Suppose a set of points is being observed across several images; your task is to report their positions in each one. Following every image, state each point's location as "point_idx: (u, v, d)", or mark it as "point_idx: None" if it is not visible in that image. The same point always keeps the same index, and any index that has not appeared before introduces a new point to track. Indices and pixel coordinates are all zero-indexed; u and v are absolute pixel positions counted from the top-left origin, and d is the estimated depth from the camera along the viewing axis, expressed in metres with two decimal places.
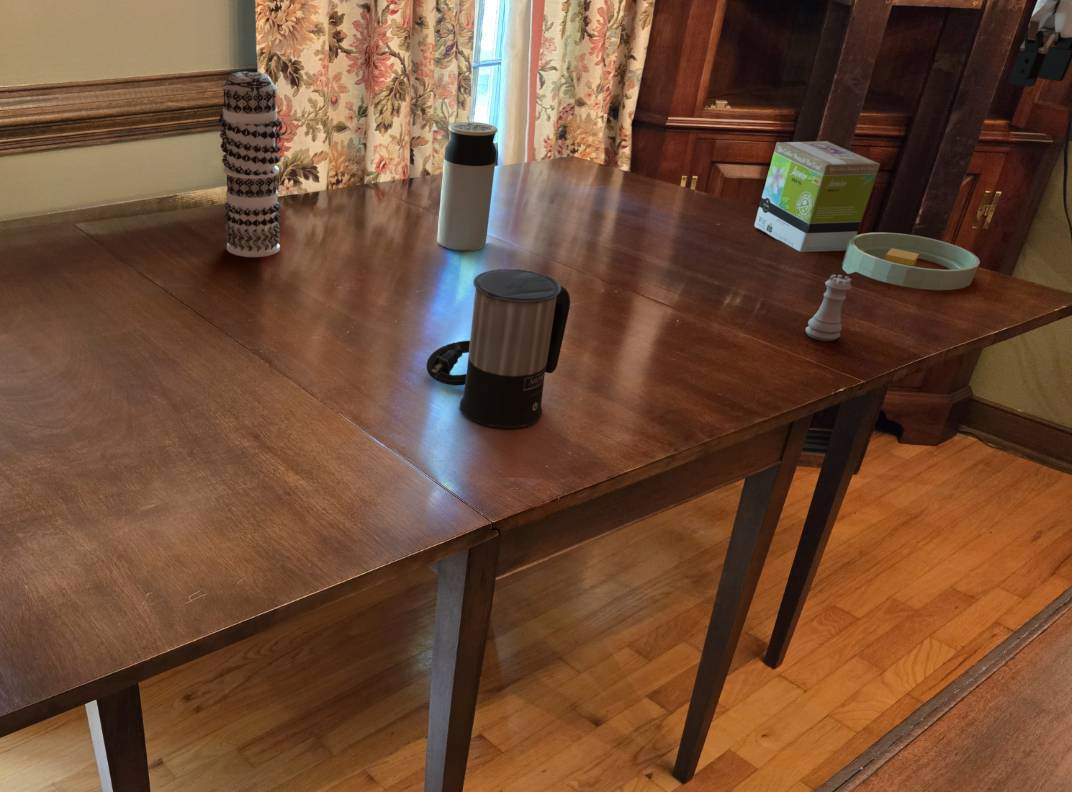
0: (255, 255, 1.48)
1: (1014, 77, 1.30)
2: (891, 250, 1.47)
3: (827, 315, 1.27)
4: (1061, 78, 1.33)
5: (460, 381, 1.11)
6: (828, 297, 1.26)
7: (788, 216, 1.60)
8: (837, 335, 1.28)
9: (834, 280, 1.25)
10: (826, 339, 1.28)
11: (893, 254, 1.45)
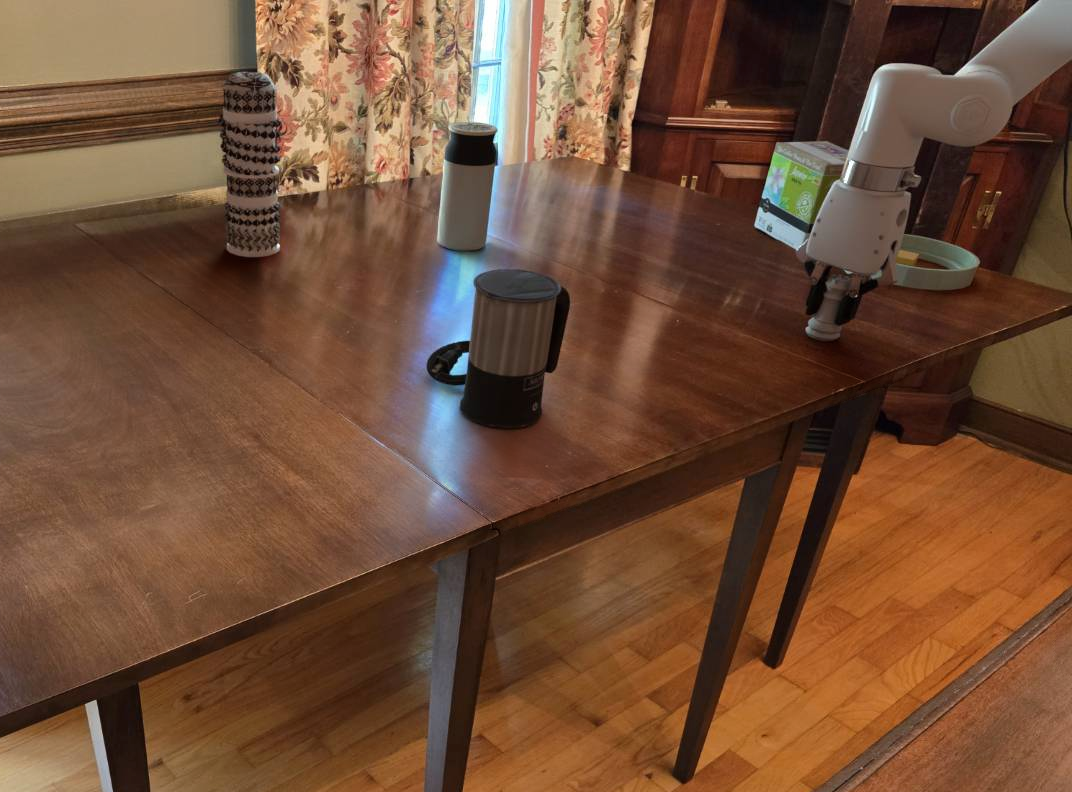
0: (255, 255, 1.48)
1: (842, 319, 1.26)
2: None
3: (827, 315, 1.27)
4: None
5: (460, 381, 1.11)
6: (828, 297, 1.26)
7: (788, 216, 1.60)
8: (837, 335, 1.28)
9: (834, 280, 1.25)
10: (826, 339, 1.28)
11: None
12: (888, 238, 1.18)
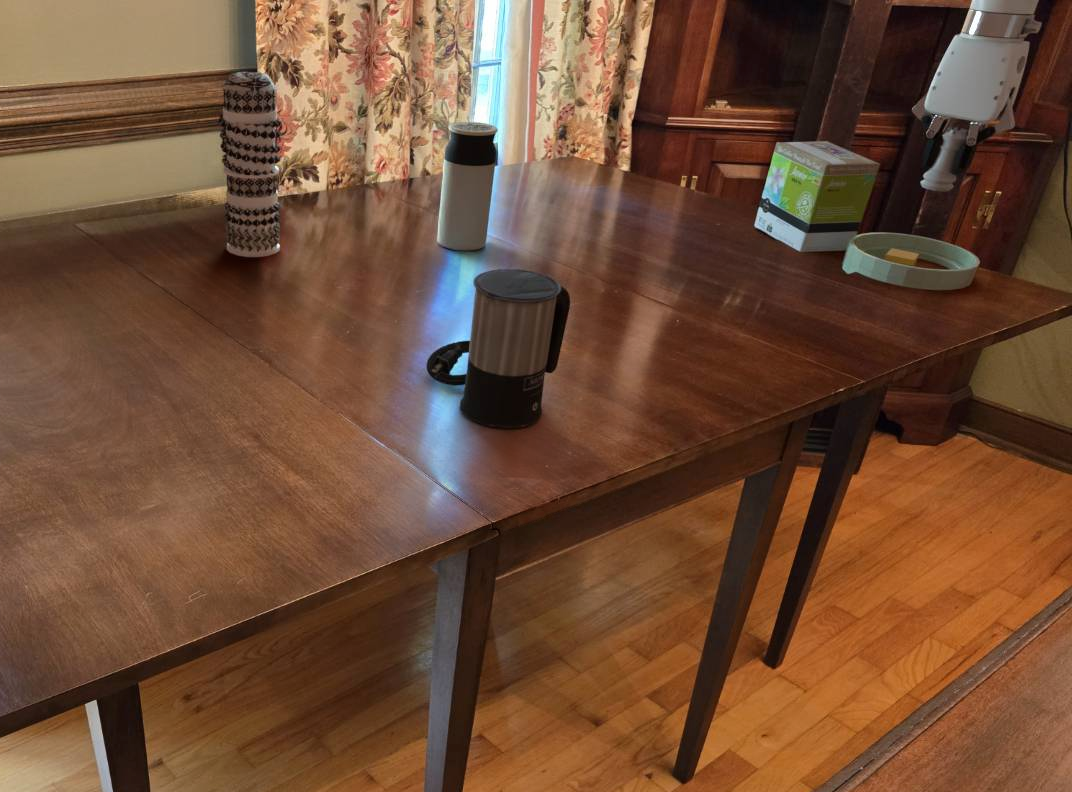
0: (255, 255, 1.48)
1: (958, 168, 1.36)
2: (891, 250, 1.47)
3: (944, 166, 1.37)
4: None
5: (460, 381, 1.11)
6: (945, 148, 1.36)
7: (788, 216, 1.60)
8: (952, 186, 1.38)
9: (952, 131, 1.35)
10: (942, 189, 1.38)
11: (893, 254, 1.45)
12: (1008, 83, 1.28)
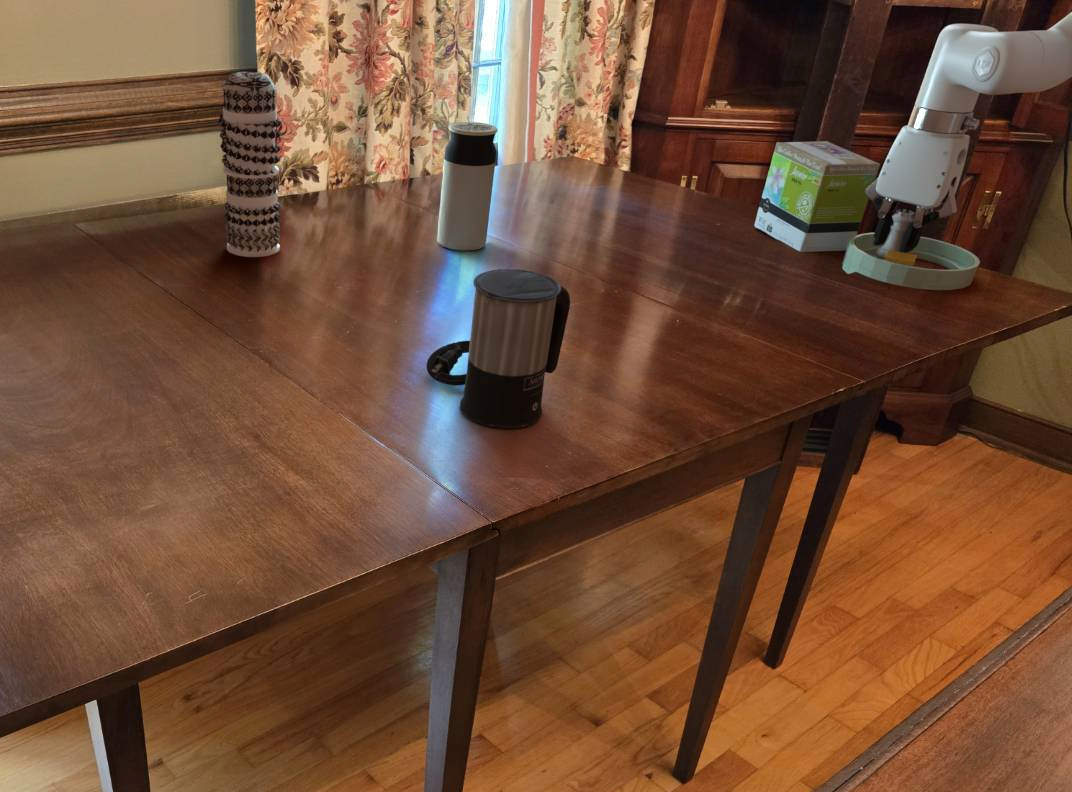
0: (255, 255, 1.48)
1: (906, 247, 1.46)
2: (889, 252, 1.46)
3: (893, 244, 1.47)
4: None
5: (460, 381, 1.11)
6: (894, 228, 1.47)
7: (788, 216, 1.60)
8: None
9: (900, 213, 1.45)
10: None
11: (893, 256, 1.45)
12: (950, 174, 1.38)
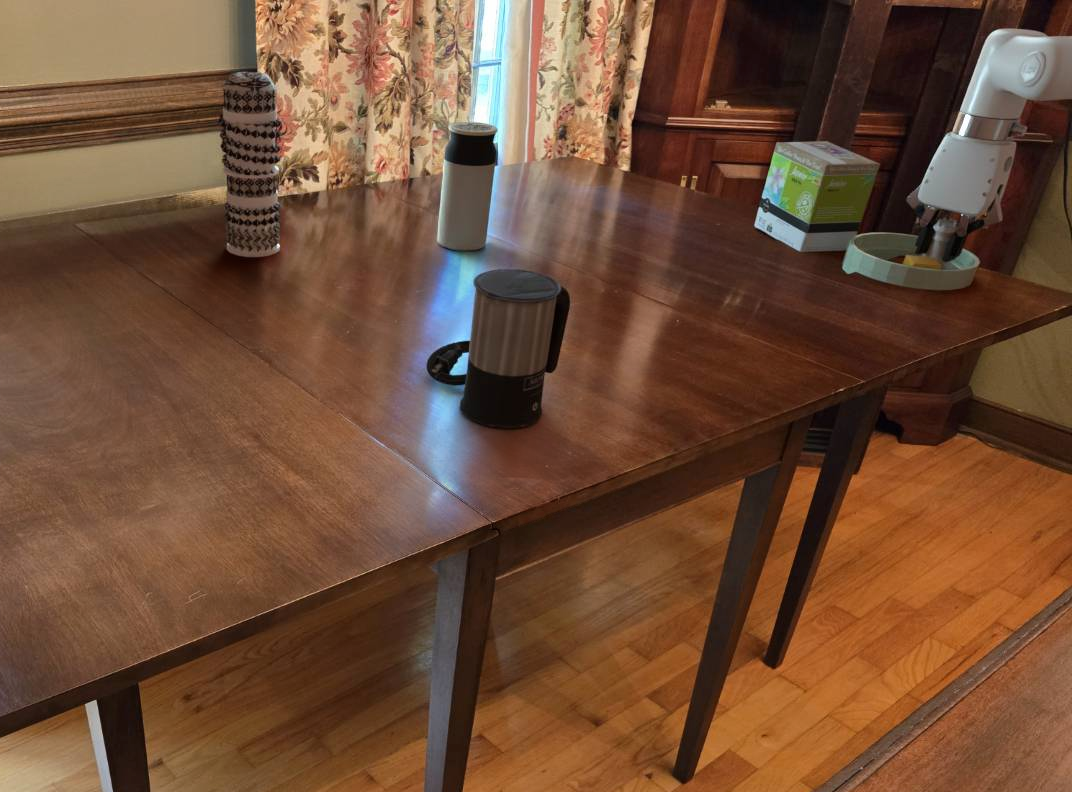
0: (255, 255, 1.48)
1: (949, 256, 1.44)
2: None
3: (940, 255, 1.45)
4: None
5: (460, 381, 1.11)
6: (939, 240, 1.44)
7: (788, 216, 1.60)
8: (948, 267, 1.47)
9: (943, 226, 1.42)
10: None
11: (912, 257, 1.45)
12: (996, 181, 1.35)
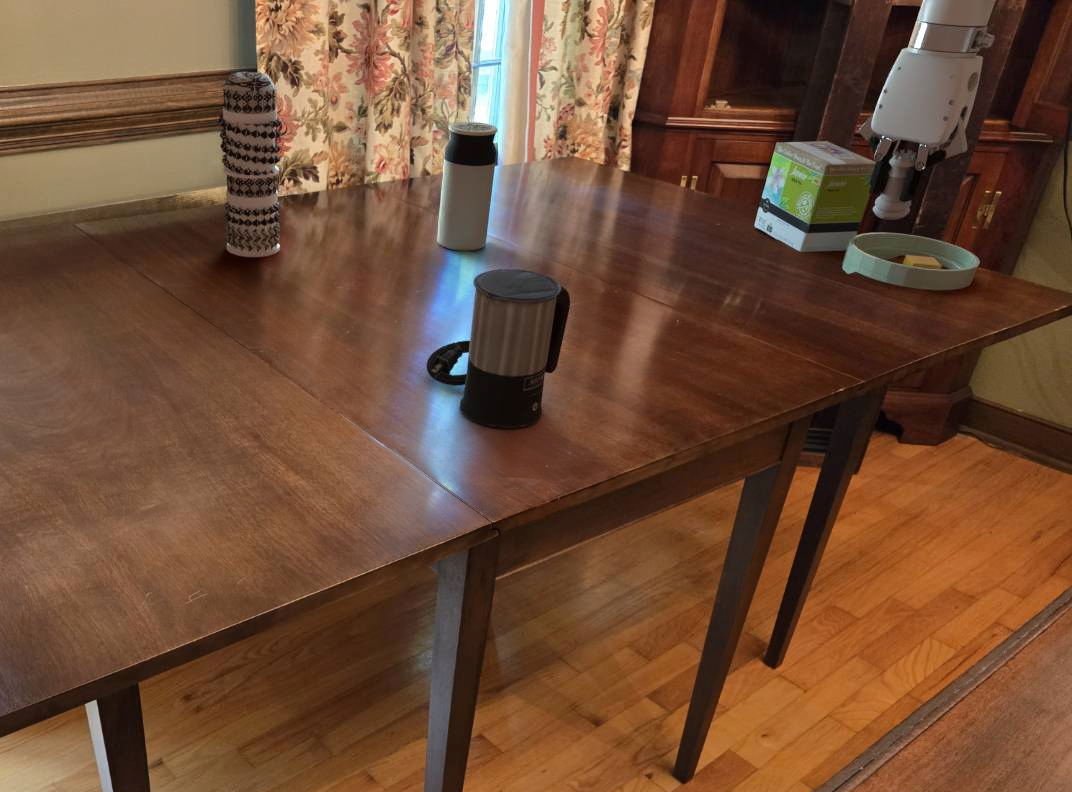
0: (255, 255, 1.48)
1: (907, 195, 1.23)
2: None
3: (897, 194, 1.25)
4: None
5: (460, 381, 1.11)
6: (895, 176, 1.24)
7: (788, 216, 1.60)
8: (908, 210, 1.27)
9: (900, 159, 1.22)
10: (899, 217, 1.26)
11: (912, 257, 1.45)
12: (959, 103, 1.15)
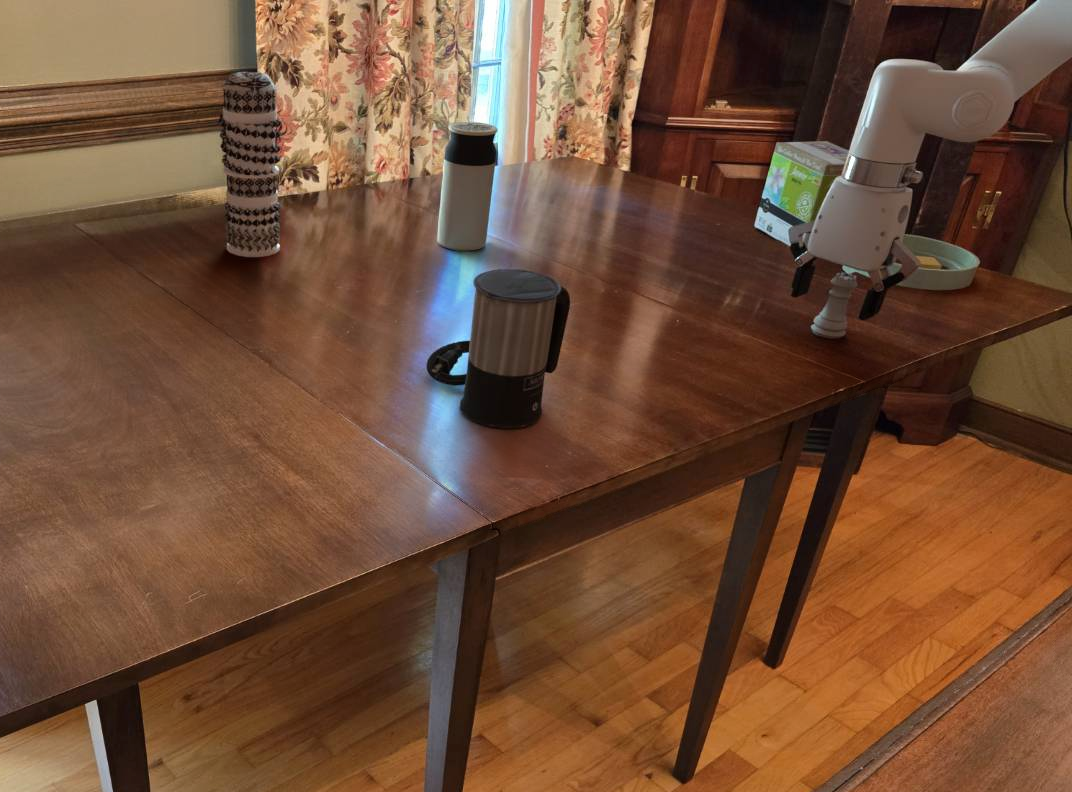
0: (255, 255, 1.48)
1: (866, 314, 1.23)
2: None
3: (836, 313, 1.28)
4: (807, 291, 1.31)
5: (460, 381, 1.11)
6: (836, 296, 1.27)
7: (788, 216, 1.60)
8: (844, 332, 1.29)
9: (842, 279, 1.25)
10: (835, 337, 1.29)
11: None
12: (890, 234, 1.17)
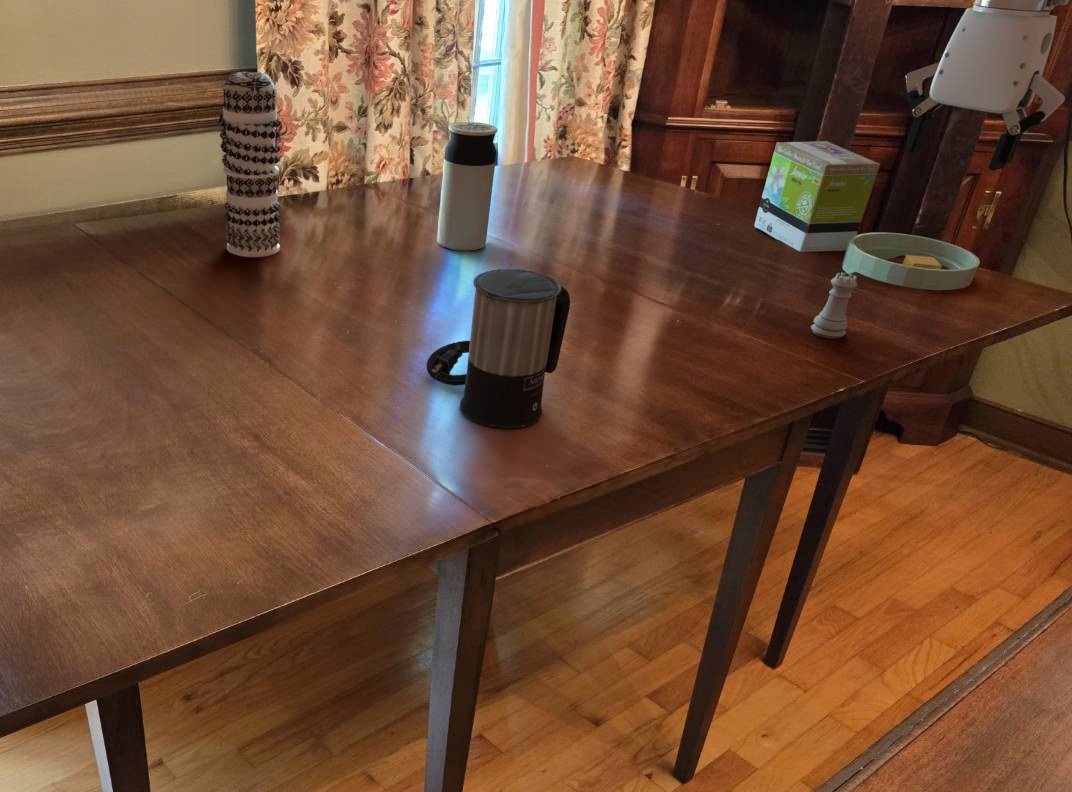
0: (255, 255, 1.48)
1: (998, 163, 1.12)
2: None
3: (836, 313, 1.28)
4: (923, 147, 1.19)
5: (460, 381, 1.11)
6: (836, 296, 1.27)
7: (788, 216, 1.60)
8: (844, 332, 1.29)
9: (842, 279, 1.25)
10: (835, 337, 1.29)
11: (912, 257, 1.45)
12: (1031, 66, 1.06)
